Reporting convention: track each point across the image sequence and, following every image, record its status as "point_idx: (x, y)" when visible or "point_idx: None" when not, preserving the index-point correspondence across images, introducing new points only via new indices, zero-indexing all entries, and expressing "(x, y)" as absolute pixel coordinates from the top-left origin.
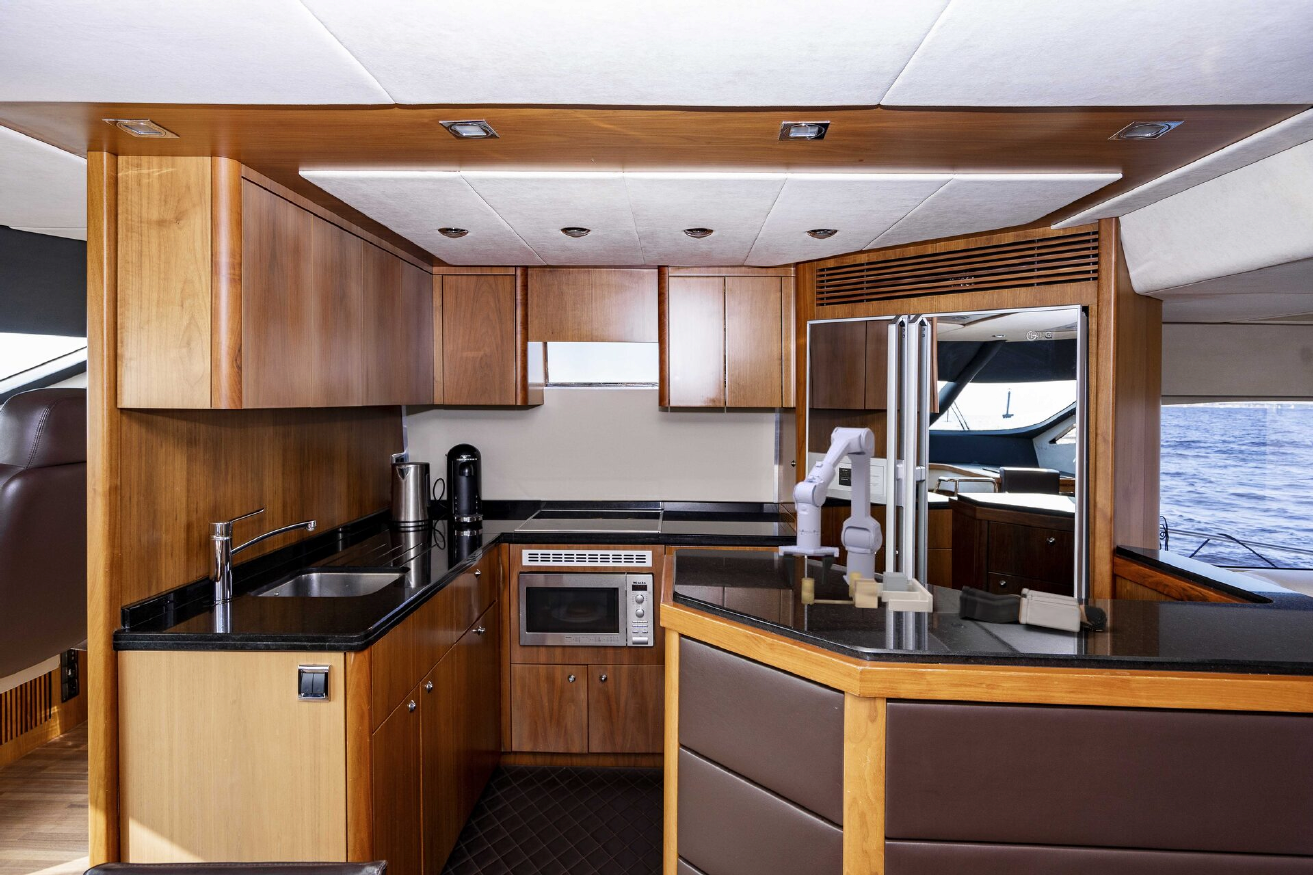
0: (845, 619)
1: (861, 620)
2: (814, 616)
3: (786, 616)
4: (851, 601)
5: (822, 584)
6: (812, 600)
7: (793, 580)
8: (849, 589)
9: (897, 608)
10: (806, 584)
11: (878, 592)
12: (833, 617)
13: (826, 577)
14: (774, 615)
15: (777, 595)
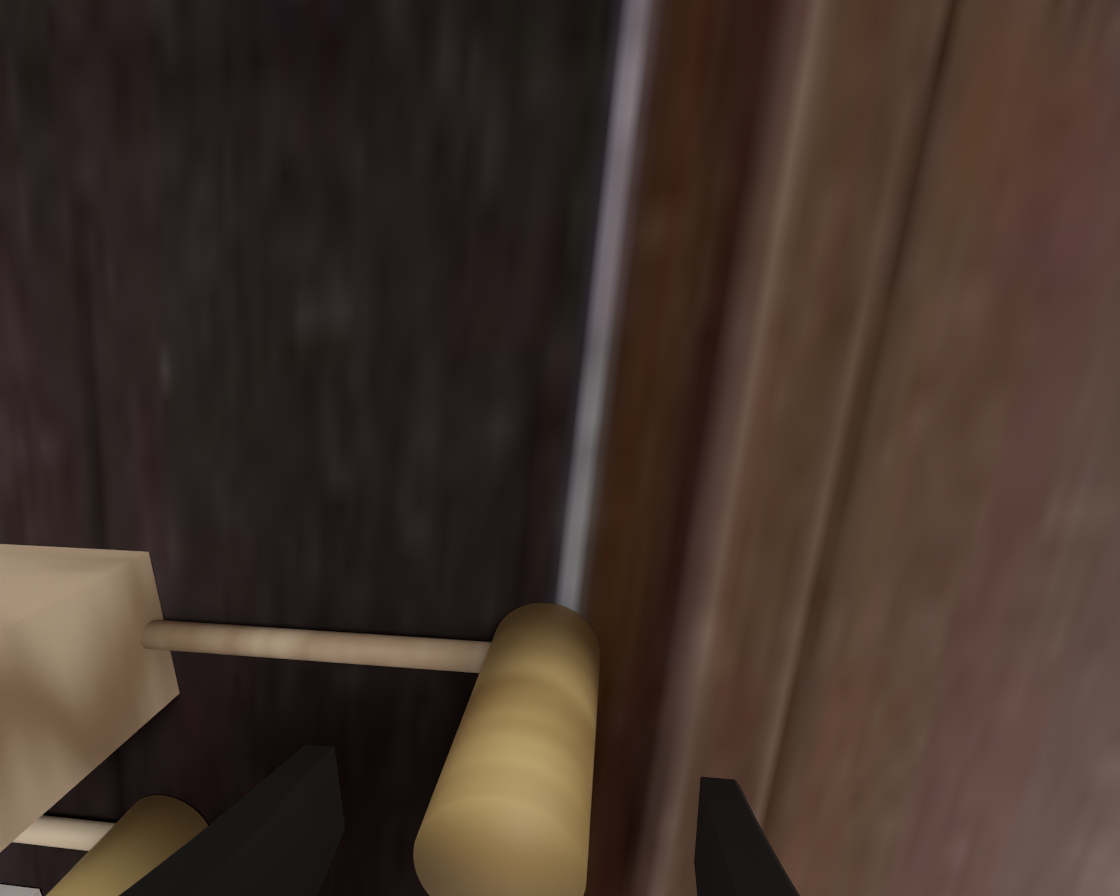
0: (226, 139)
1: (83, 129)
2: (524, 203)
3: (836, 152)
4: (167, 635)
5: (336, 779)
6: (500, 633)
7: (726, 820)
8: None
9: None
10: (537, 753)
11: (17, 892)
12: (338, 195)
13: (212, 824)
14: (975, 172)
15: (787, 846)
